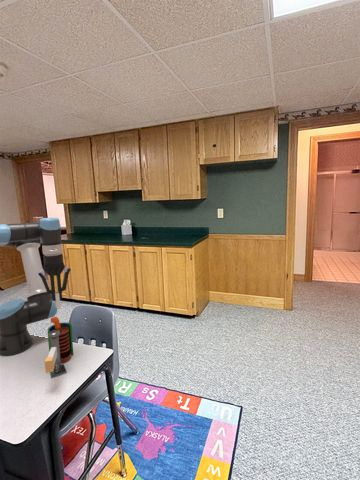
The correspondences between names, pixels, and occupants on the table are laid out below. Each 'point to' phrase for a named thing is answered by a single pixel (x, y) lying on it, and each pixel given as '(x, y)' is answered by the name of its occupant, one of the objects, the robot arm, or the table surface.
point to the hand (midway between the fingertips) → (58, 307)
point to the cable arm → (51, 360)
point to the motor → (62, 339)
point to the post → (58, 367)
